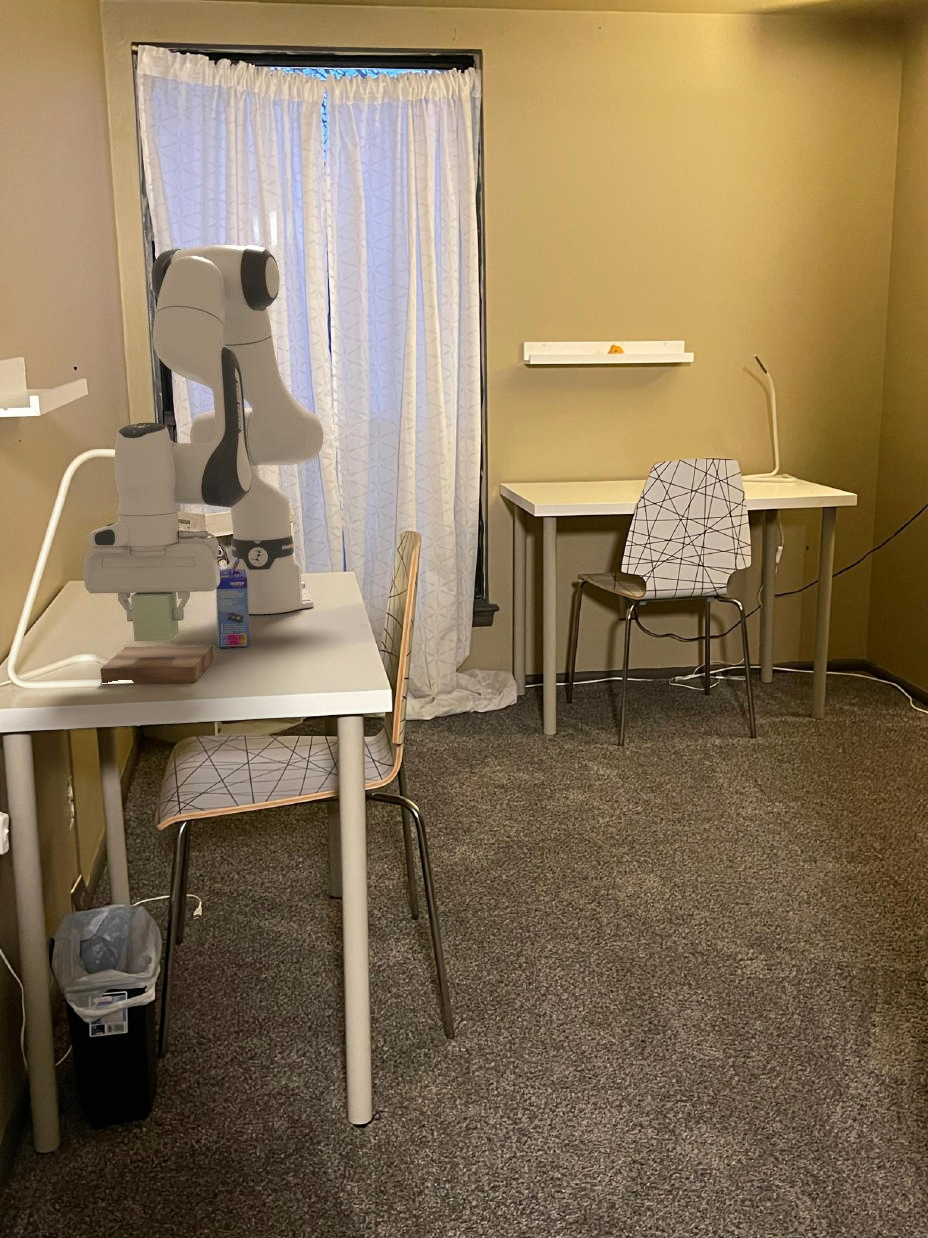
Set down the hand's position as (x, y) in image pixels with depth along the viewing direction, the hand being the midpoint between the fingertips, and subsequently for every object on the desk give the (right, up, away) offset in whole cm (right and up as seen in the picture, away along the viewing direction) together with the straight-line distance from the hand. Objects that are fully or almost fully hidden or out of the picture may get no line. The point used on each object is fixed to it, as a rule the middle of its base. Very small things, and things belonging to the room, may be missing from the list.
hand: (155, 620), depth 179 cm
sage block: (0, -3, +1) cm, 3 cm away
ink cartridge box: (+8, -4, +22) cm, 23 cm away
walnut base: (0, -8, +2) cm, 8 cm away
